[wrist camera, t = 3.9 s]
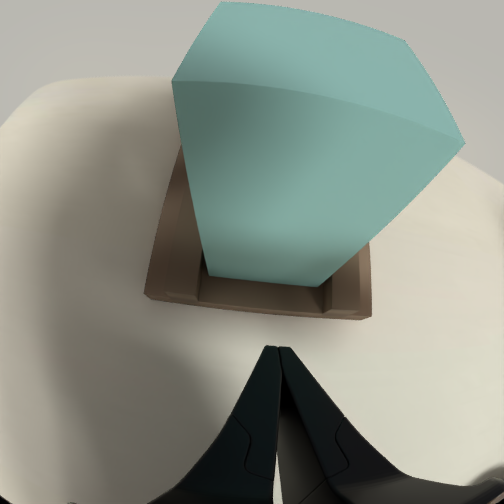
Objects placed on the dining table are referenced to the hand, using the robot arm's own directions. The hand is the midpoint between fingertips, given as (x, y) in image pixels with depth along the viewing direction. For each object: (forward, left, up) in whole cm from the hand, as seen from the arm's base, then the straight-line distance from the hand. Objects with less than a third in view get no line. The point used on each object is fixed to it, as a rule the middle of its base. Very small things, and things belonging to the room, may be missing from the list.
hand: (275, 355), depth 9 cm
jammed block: (+4, -5, -5) cm, 9 cm away
